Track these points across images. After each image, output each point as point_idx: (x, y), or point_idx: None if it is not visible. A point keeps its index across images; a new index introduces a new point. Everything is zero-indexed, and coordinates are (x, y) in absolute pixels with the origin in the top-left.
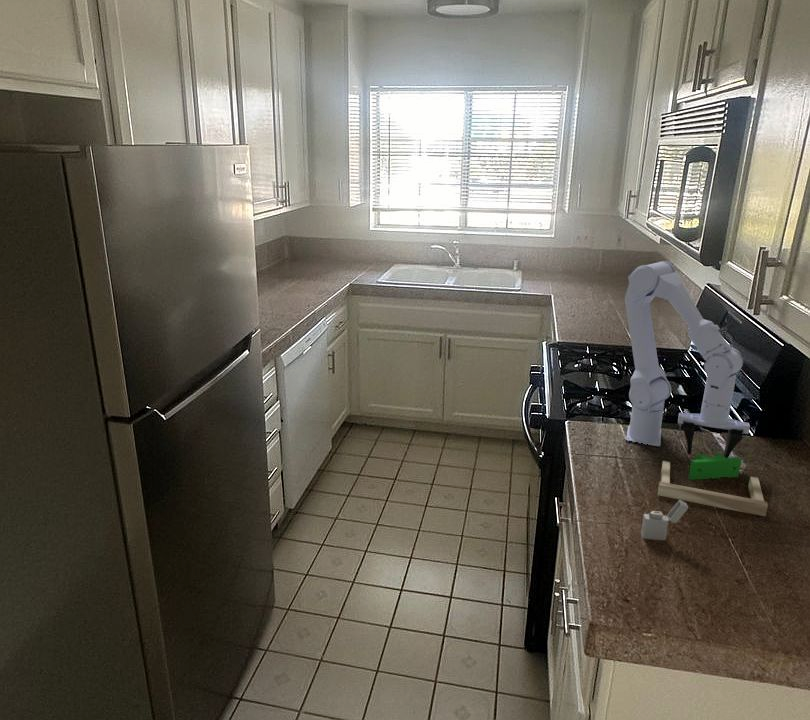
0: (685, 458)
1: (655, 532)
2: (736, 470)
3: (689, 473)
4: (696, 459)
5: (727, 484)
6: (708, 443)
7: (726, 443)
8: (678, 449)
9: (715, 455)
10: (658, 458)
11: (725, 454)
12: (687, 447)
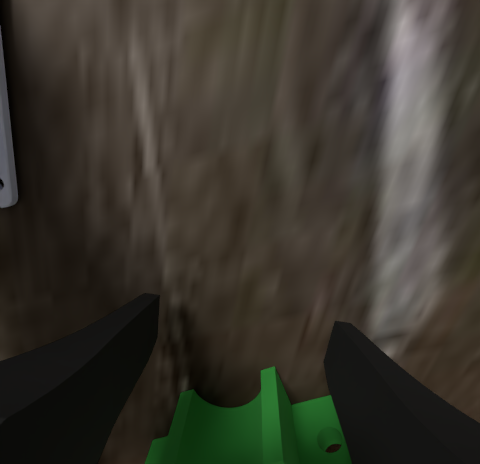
0: None
1: None
2: None
3: (147, 460)
4: (164, 451)
5: None
6: (316, 52)
7: (375, 375)
8: (120, 202)
9: (263, 443)
10: (31, 323)
11: (332, 400)
12: (134, 300)
